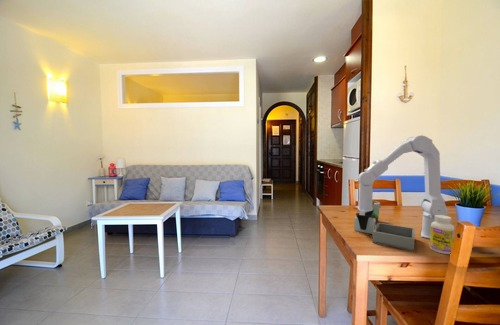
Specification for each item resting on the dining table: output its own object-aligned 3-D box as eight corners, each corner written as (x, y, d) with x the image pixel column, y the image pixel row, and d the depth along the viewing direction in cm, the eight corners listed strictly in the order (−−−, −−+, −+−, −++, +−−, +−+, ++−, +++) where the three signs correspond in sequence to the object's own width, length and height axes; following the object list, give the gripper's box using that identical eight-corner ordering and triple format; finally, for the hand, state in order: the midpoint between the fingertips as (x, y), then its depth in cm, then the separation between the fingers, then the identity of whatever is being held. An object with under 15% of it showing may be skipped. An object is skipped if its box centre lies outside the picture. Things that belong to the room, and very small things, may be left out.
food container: (384, 225, 115) (384, 205, 114) (370, 224, 116) (371, 204, 115) (376, 218, 127) (376, 200, 126) (363, 217, 128) (364, 199, 128)
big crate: (414, 238, 97) (414, 228, 96) (413, 251, 85) (414, 239, 85) (377, 232, 105) (378, 222, 104) (372, 242, 93) (372, 231, 93)
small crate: (375, 231, 106) (375, 218, 106) (373, 234, 102) (373, 220, 102) (356, 227, 111) (356, 215, 111) (354, 230, 107) (354, 217, 107)
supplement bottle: (428, 250, 85) (429, 216, 85) (431, 245, 90) (432, 213, 89) (452, 256, 80) (454, 220, 80) (454, 250, 85) (455, 216, 84)
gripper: (359, 194, 114) (358, 221, 115) (352, 199, 102) (351, 229, 103) (375, 196, 110) (374, 224, 111) (370, 201, 98) (369, 233, 99)
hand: (364, 227), depth 107 cm, fingers open, 7 cm apart
